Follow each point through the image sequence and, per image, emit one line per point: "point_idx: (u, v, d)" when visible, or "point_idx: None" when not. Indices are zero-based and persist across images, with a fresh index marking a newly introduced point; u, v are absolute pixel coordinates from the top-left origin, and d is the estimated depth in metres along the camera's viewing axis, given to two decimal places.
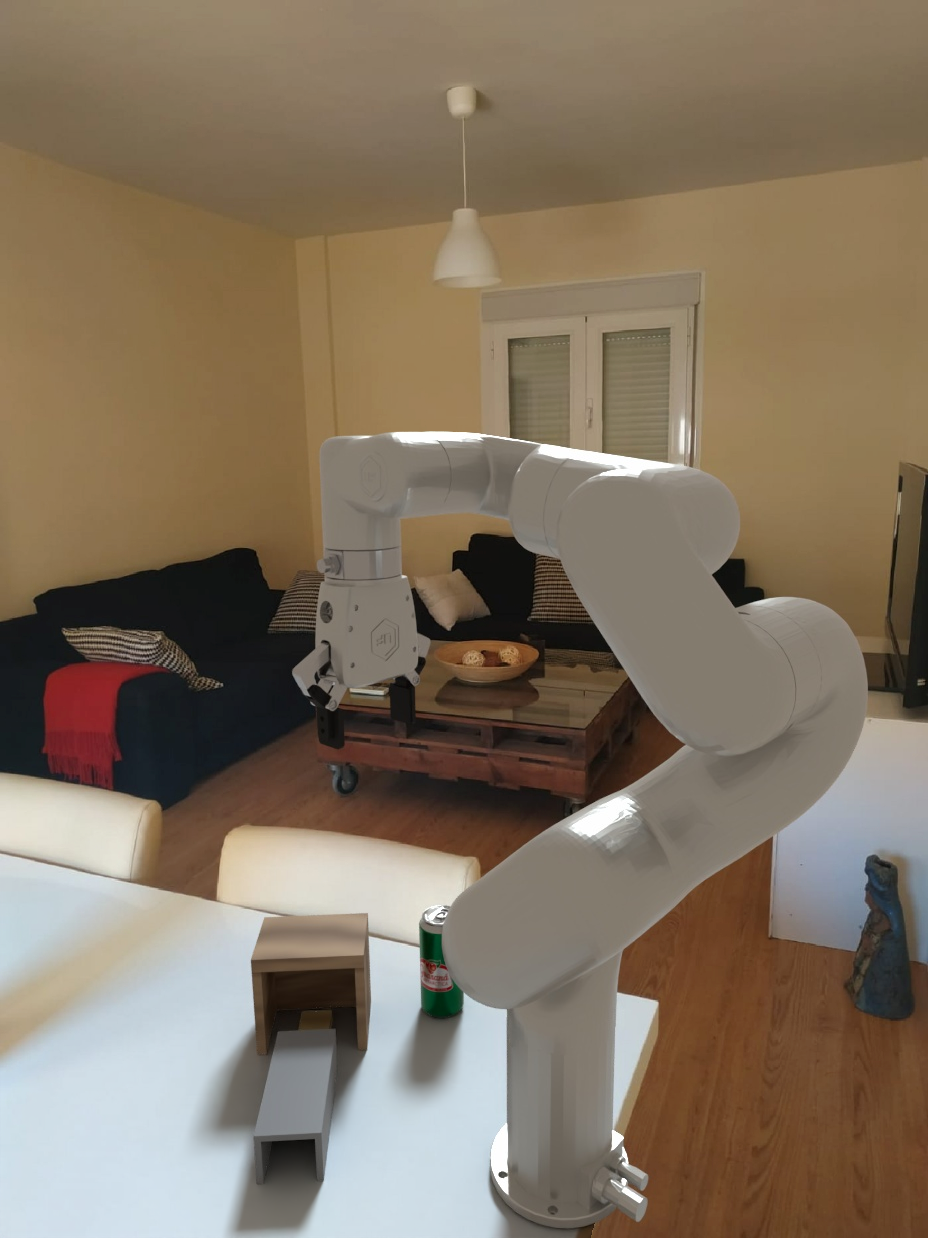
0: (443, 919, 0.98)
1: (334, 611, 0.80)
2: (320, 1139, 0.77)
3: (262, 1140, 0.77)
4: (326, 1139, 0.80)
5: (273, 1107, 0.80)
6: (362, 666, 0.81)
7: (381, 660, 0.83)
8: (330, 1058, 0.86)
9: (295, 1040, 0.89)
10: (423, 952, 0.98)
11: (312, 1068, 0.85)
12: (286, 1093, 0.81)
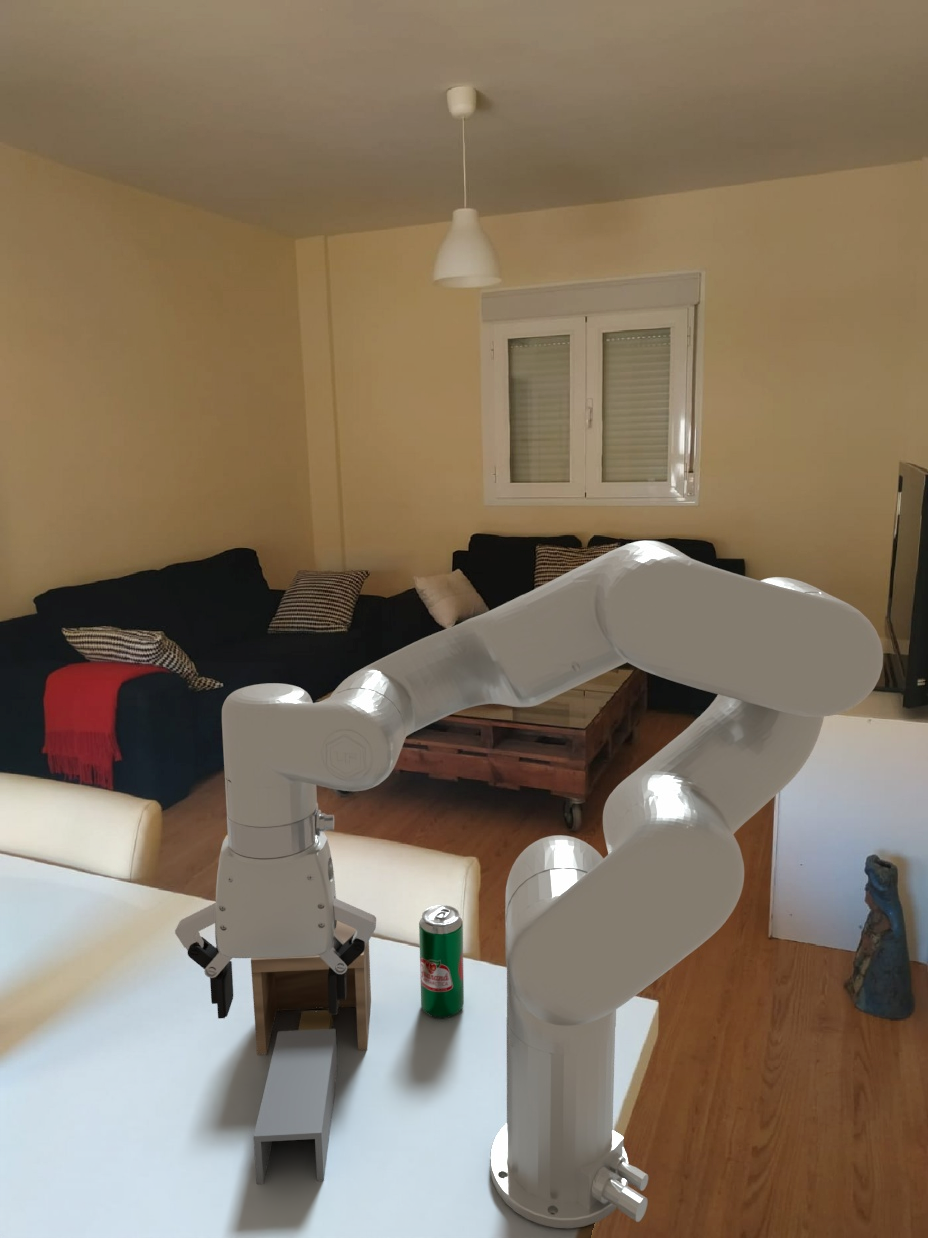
0: (443, 919, 0.98)
1: None
2: (320, 1139, 0.77)
3: (262, 1140, 0.77)
4: (326, 1139, 0.80)
5: (273, 1107, 0.80)
6: None
7: None
8: (330, 1058, 0.86)
9: (295, 1040, 0.89)
10: (423, 952, 0.98)
11: (312, 1068, 0.85)
12: (286, 1094, 0.81)
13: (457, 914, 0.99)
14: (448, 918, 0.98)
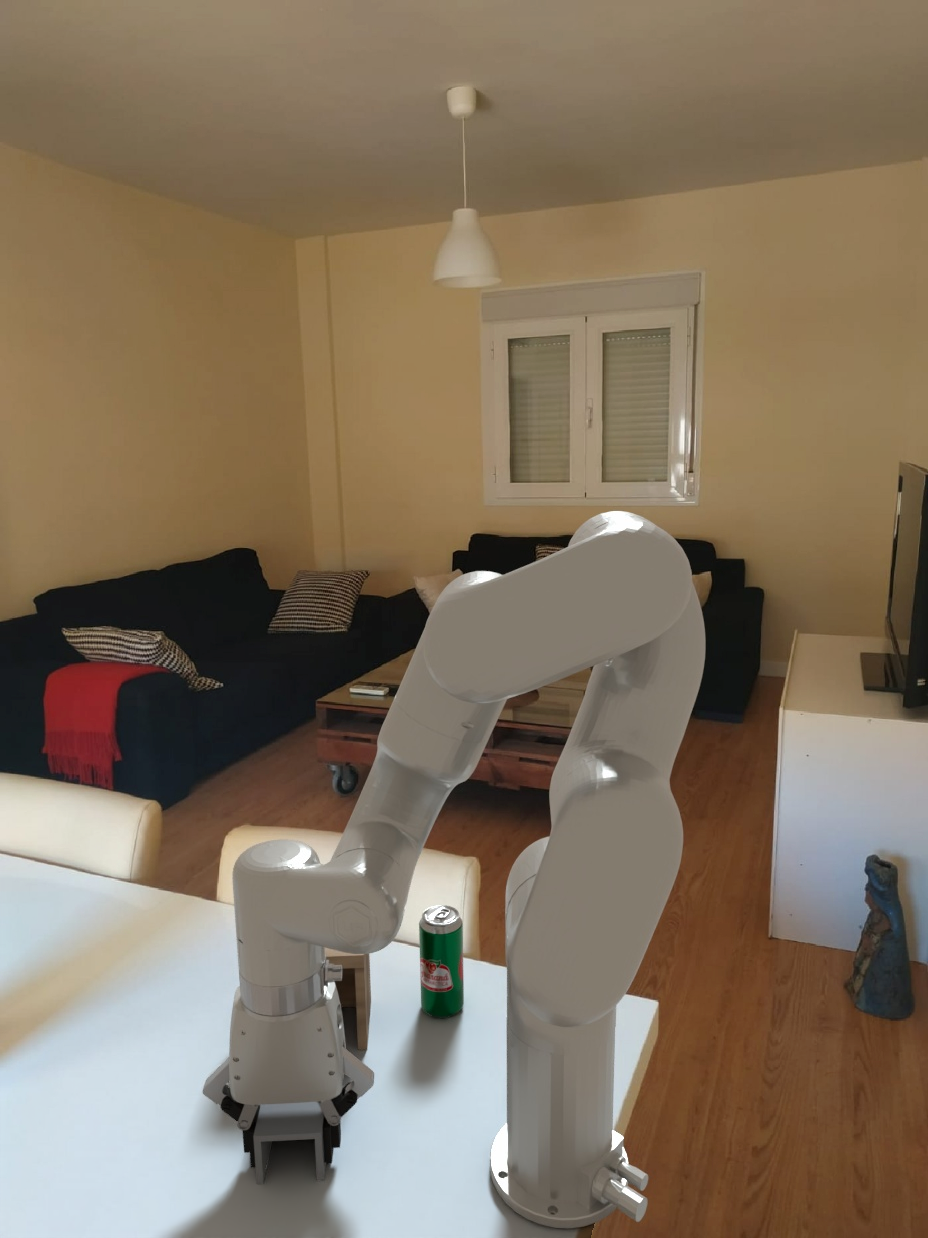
0: (443, 919, 0.98)
1: (340, 1006, 0.79)
2: (320, 1139, 0.77)
3: (262, 1140, 0.77)
4: None
5: (272, 1107, 0.80)
6: None
7: None
8: None
9: None
10: (423, 952, 0.98)
11: None
12: None
13: (457, 914, 0.99)
14: (448, 918, 0.98)
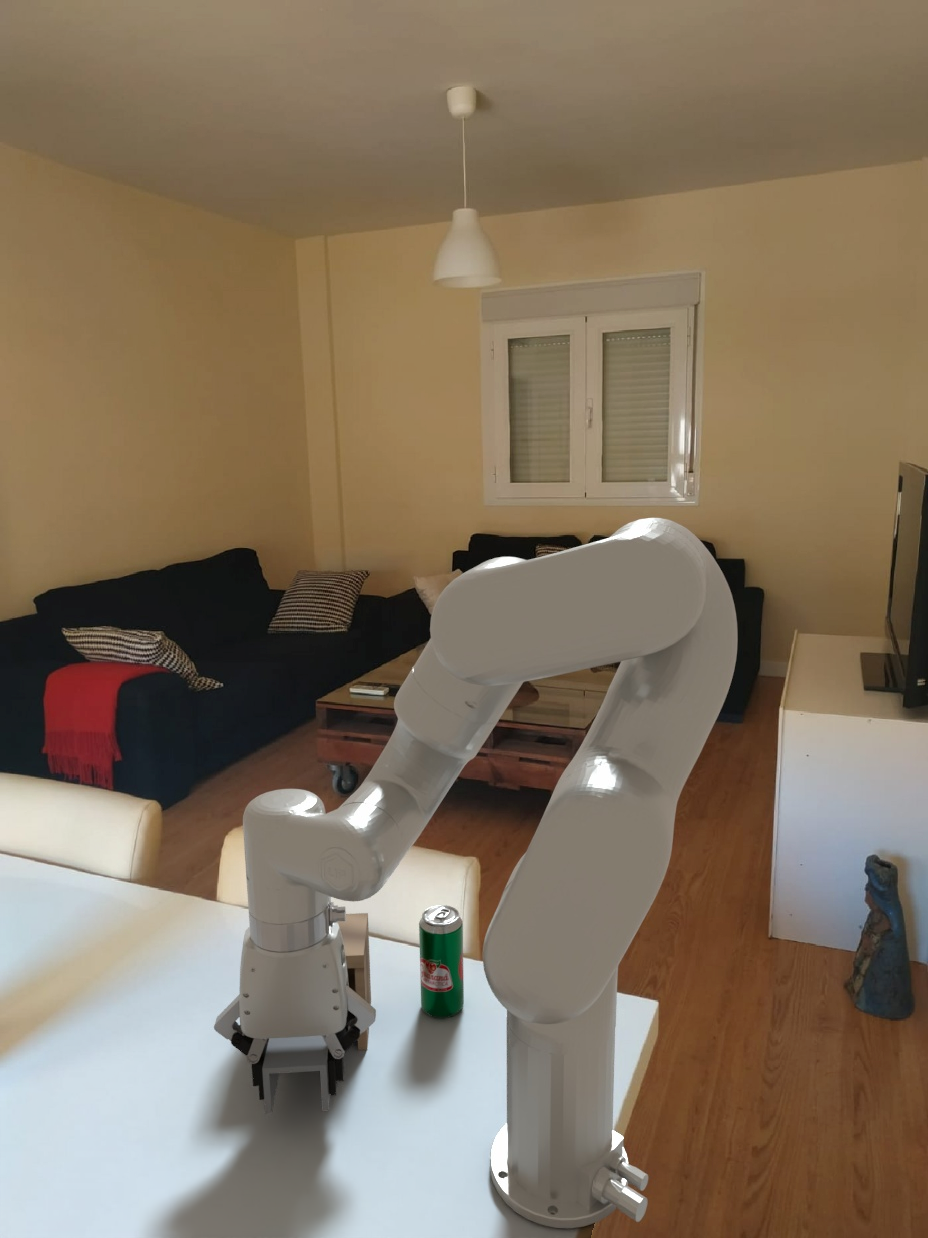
0: (443, 919, 0.98)
1: None
2: (325, 1071, 0.82)
3: (270, 1072, 0.81)
4: None
5: (279, 1043, 0.84)
6: None
7: None
8: None
9: None
10: (423, 952, 0.98)
11: None
12: None
13: (457, 914, 0.99)
14: (448, 918, 0.98)
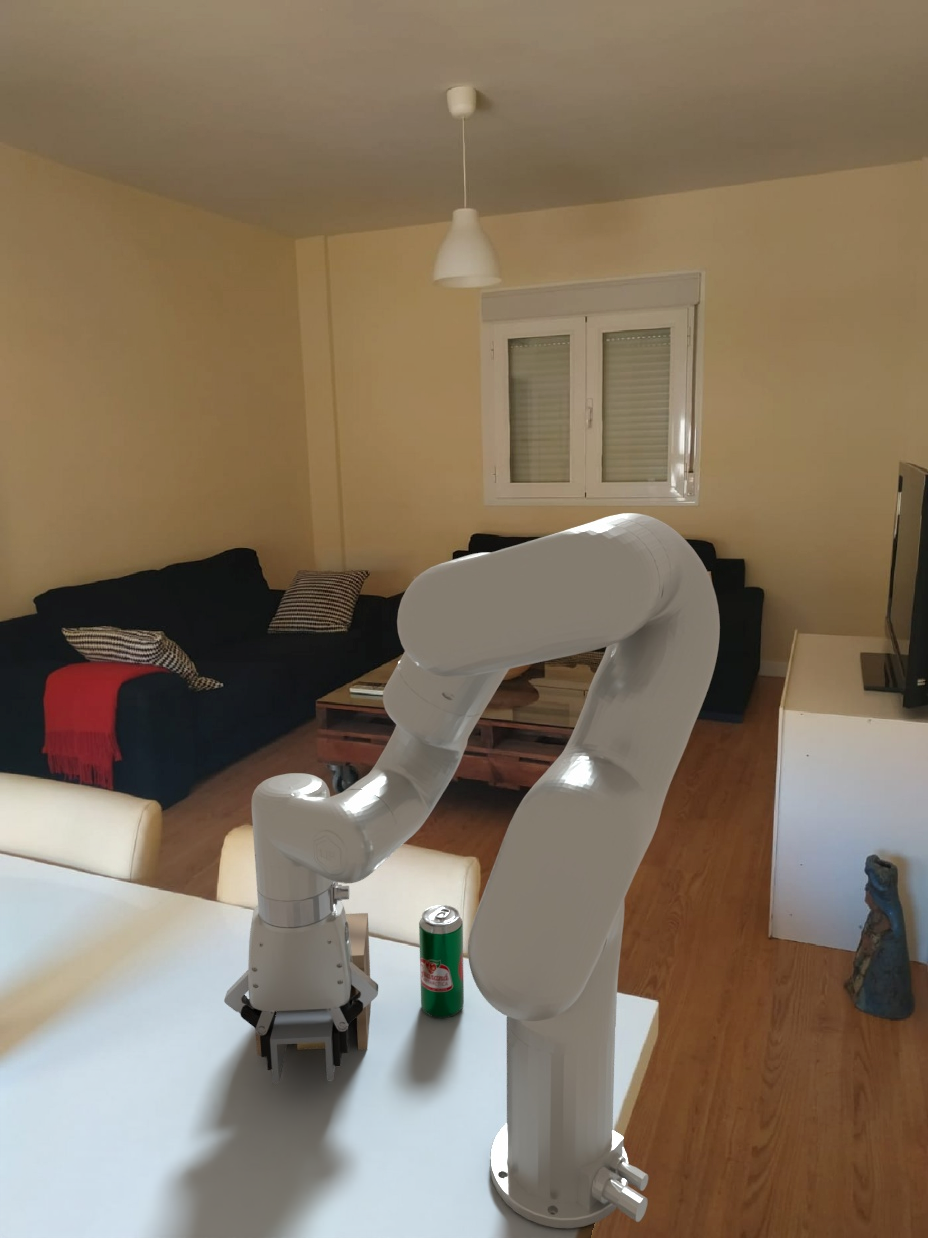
0: (443, 919, 0.98)
1: None
2: (330, 1042, 0.86)
3: (278, 1043, 0.85)
4: None
5: (287, 1017, 0.89)
6: None
7: None
8: None
9: None
10: (423, 952, 0.98)
11: None
12: None
13: (457, 914, 0.99)
14: (448, 918, 0.98)
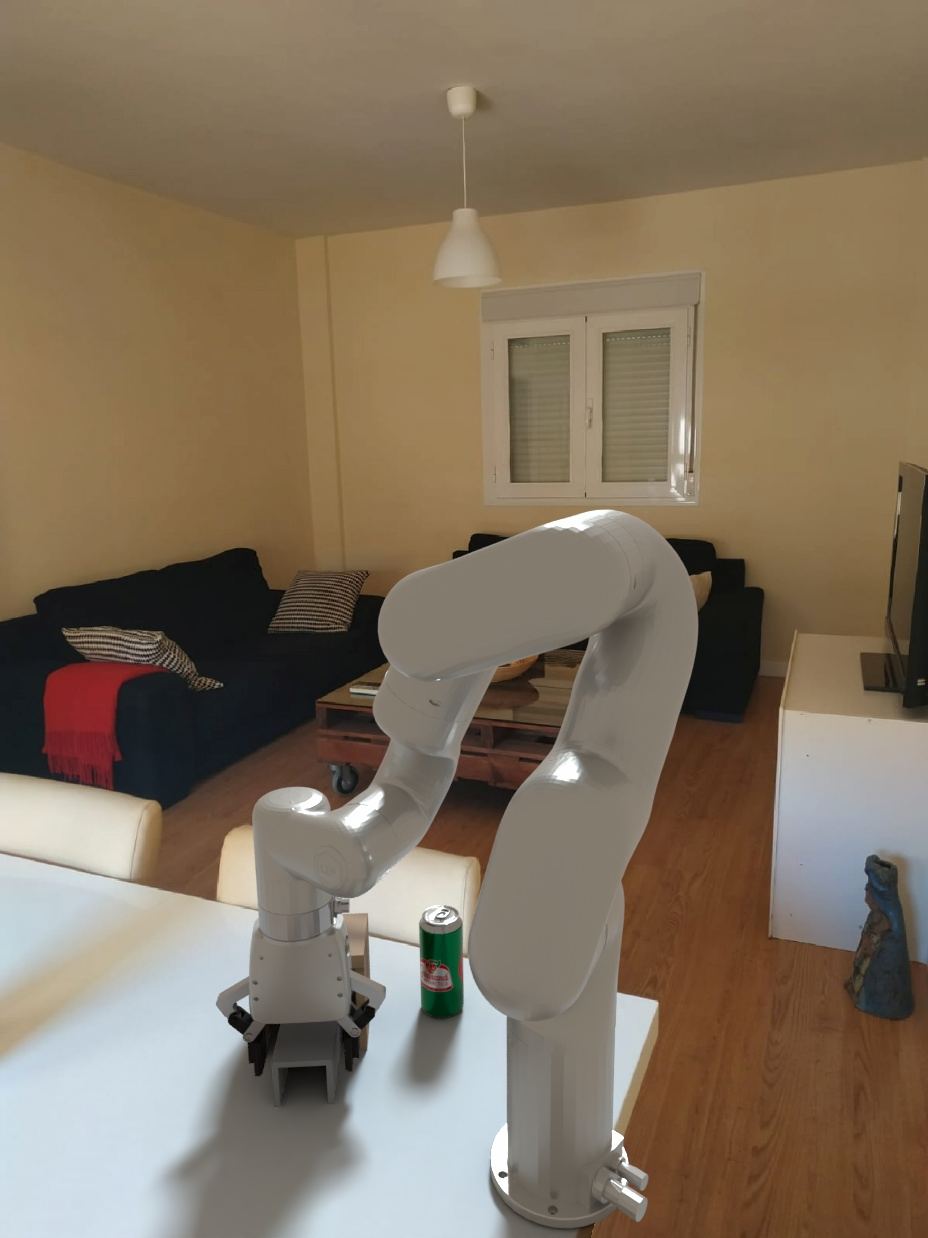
0: (443, 919, 0.98)
1: None
2: (331, 1065, 0.86)
3: (279, 1066, 0.86)
4: (336, 1068, 0.90)
5: (288, 1039, 0.89)
6: None
7: None
8: None
9: None
10: (423, 952, 0.98)
11: None
12: (300, 1028, 0.91)
13: (457, 914, 0.99)
14: (448, 918, 0.98)
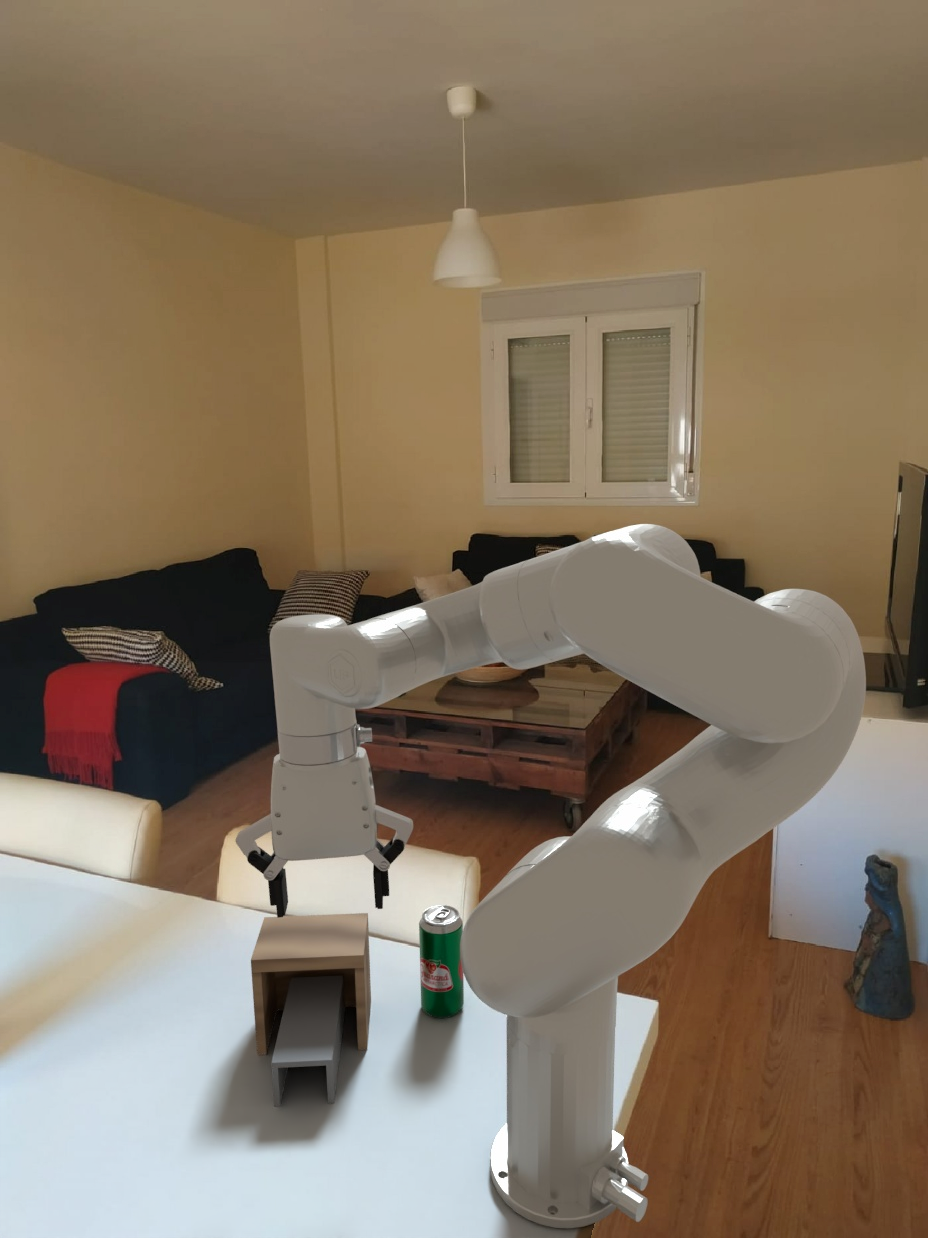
0: (443, 919, 0.98)
1: None
2: (331, 1065, 0.86)
3: (279, 1066, 0.86)
4: (336, 1068, 0.90)
5: (288, 1039, 0.89)
6: None
7: None
8: (339, 999, 0.95)
9: (306, 985, 0.98)
10: (423, 952, 0.98)
11: (322, 1008, 0.94)
12: (300, 1028, 0.91)
13: (457, 914, 0.99)
14: (448, 918, 0.98)
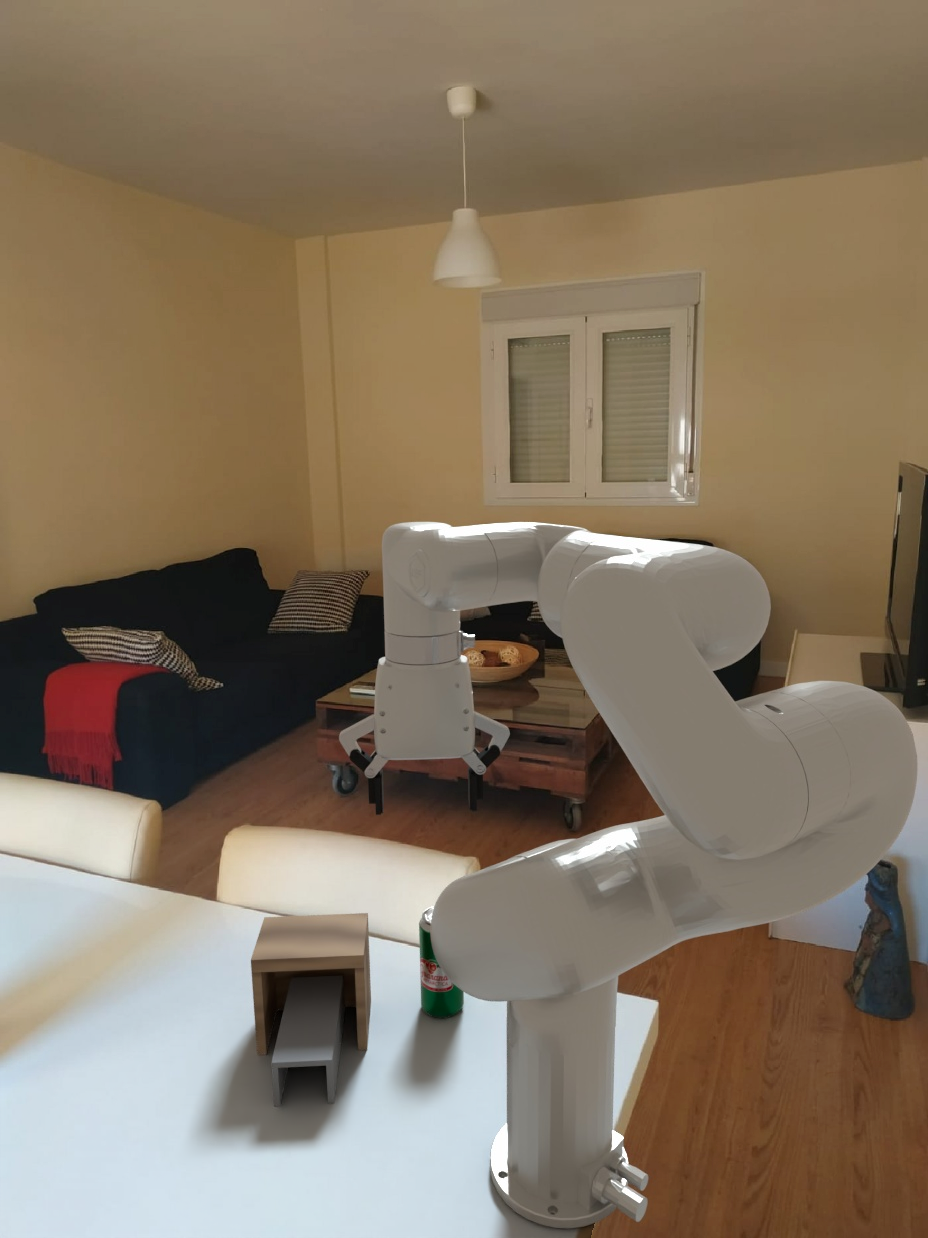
0: None
1: (470, 678, 0.88)
2: (331, 1065, 0.86)
3: (279, 1066, 0.86)
4: (336, 1068, 0.90)
5: (288, 1039, 0.89)
6: None
7: None
8: (339, 999, 0.95)
9: (306, 985, 0.98)
10: (423, 952, 0.98)
11: (322, 1008, 0.94)
12: (300, 1028, 0.91)
13: None
14: None
